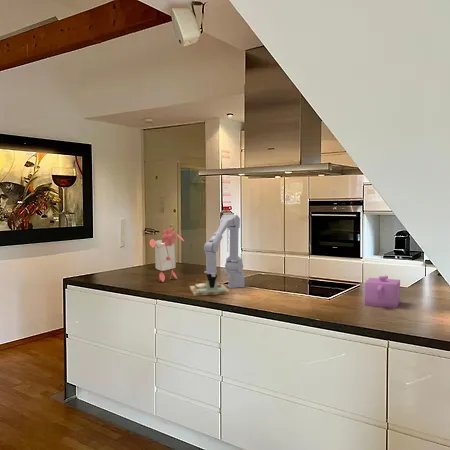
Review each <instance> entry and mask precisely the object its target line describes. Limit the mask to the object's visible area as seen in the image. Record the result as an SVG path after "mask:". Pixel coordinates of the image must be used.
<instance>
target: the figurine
mask: <svg viewBox="0 0 450 450" xmlns="http://www.w3.org/2000/svg"><path fill="white" fill-rule="evenodd" d="M176 232H177V231H176V230H174V229H173V227H168V228H166V229H164V230H163V231H162V233H163V235H162V236H161V238H162V239H161V240H162V243H165V244H164V245H165V246H166V249H167V246H168V245H169V246H171V245H172V244H174V243H175V244H176V240H175V239H176V238H178V239H179V240H181V241H182V242H185V240H184V238H183V237H182V236H181V235H180V234H178V233H176ZM155 241H156V240H155V239H154V238H151V239H150V240H149V245H150V246H149V247H150V248H152V249H155V245H156V243H155ZM164 245H162V246H164ZM156 246H157V245H156ZM162 246H160V247H162ZM160 247H158V246H157V248H160ZM167 253H168V249H167ZM166 260H168V261H169V260H171V259H170V257H169V255H168V257H166ZM166 260H165V261H166ZM171 261H172V260H171ZM163 262H164V261H163ZM161 263H162V262H161ZM161 263H160V266H161ZM170 272H171V274H170V277H169V280H171V279H172V276H173V277H174V279H176V280H178V277H177V275H176V273H175V272H174V269H173V262H172V269H171V271H170ZM165 279H166V276H165V273H163V271H162V269H161V272H159V281H158V282H162V283H164V281H165ZM181 282H183V281H180V283H181ZM176 283H177V284H178V283H179V281H178V282H175V284H176Z"/></svg>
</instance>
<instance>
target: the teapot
mask: <svg viewBox="0 0 450 450" xmlns="http://www.w3.org/2000/svg"><path fill="white" fill-rule="evenodd" d="M388 277H389V276H388V275H384V276H383V275H380V276H378V277H369V278H368V279H367V280H366V281H365V282H364V306H367V307H379V308H388V307H389V308H390V309H391V308H392V309H398V306H399V305H400V303H401V280H400V279H394V278H393V279H392V278H388ZM389 308H388V309H389Z"/></svg>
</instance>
